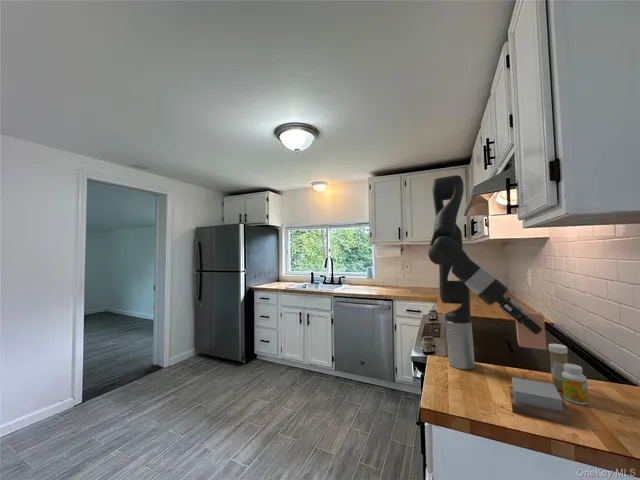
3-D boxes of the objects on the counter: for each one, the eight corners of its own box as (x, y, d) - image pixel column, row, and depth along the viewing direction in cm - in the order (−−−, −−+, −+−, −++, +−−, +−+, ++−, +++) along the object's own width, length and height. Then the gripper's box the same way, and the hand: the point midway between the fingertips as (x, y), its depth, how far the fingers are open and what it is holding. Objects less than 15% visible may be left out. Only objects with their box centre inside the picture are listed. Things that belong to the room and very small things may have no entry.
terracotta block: (517, 340, 81) (515, 310, 82) (543, 343, 78) (540, 312, 79) (519, 346, 76) (516, 314, 77) (546, 349, 73) (543, 315, 74)
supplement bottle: (559, 398, 80) (556, 364, 81) (570, 394, 82) (567, 361, 83) (582, 406, 75) (578, 370, 76) (593, 402, 77) (589, 367, 78)
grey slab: (512, 387, 83) (511, 377, 83) (555, 395, 78) (554, 384, 78) (515, 402, 75) (514, 390, 75) (563, 411, 69) (561, 399, 70)
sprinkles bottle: (554, 384, 89) (550, 342, 90) (572, 388, 86) (568, 345, 87) (550, 388, 86) (546, 345, 87) (570, 393, 83) (565, 348, 84)
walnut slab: (510, 395, 84) (509, 385, 84) (561, 405, 78) (560, 394, 78) (512, 415, 74) (511, 403, 74) (571, 428, 67) (570, 415, 68)
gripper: (494, 279, 77) (553, 326, 69) (494, 276, 89) (544, 315, 81) (474, 297, 79) (529, 344, 72) (477, 291, 91) (524, 331, 84)
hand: (537, 329), depth 77 cm, fingers closed on terracotta block, 6 cm apart
